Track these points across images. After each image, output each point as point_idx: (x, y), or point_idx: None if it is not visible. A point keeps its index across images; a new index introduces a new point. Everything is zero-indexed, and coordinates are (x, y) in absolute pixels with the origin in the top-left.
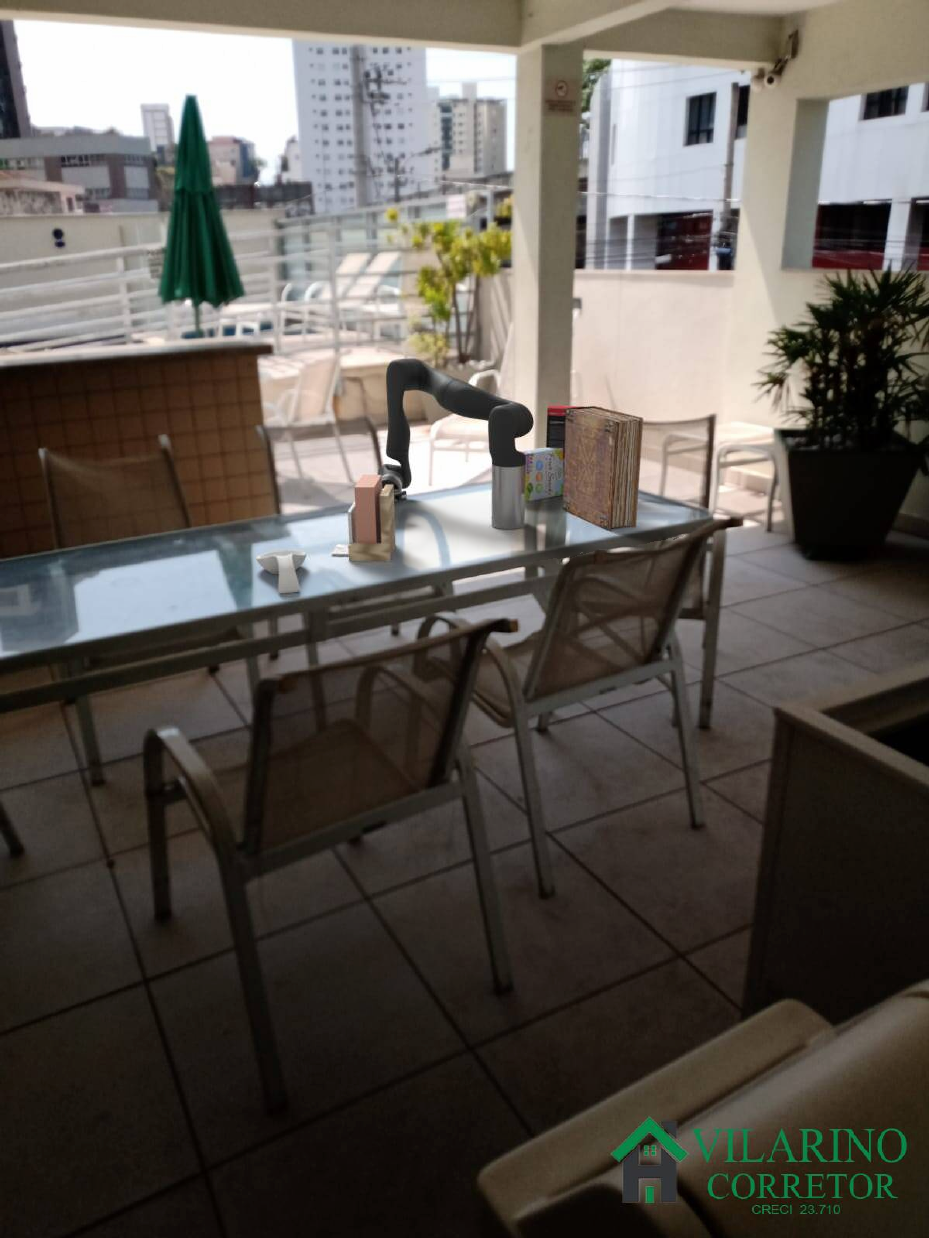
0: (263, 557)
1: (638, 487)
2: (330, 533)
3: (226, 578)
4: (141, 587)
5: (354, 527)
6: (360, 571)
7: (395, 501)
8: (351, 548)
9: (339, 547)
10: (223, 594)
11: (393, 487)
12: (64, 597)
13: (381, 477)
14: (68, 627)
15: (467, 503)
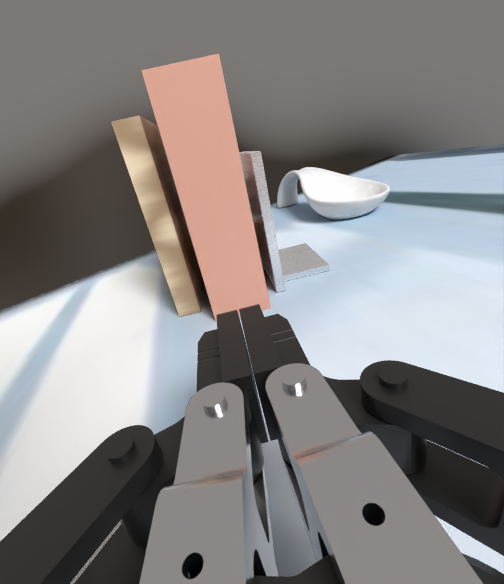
0: (381, 191)
1: None
2: (463, 323)
3: (395, 191)
4: (461, 167)
5: (250, 204)
6: None
7: (121, 527)
8: None
9: (310, 259)
10: None
11: (115, 132)
12: (500, 151)
13: (145, 82)
14: (414, 158)
15: None
